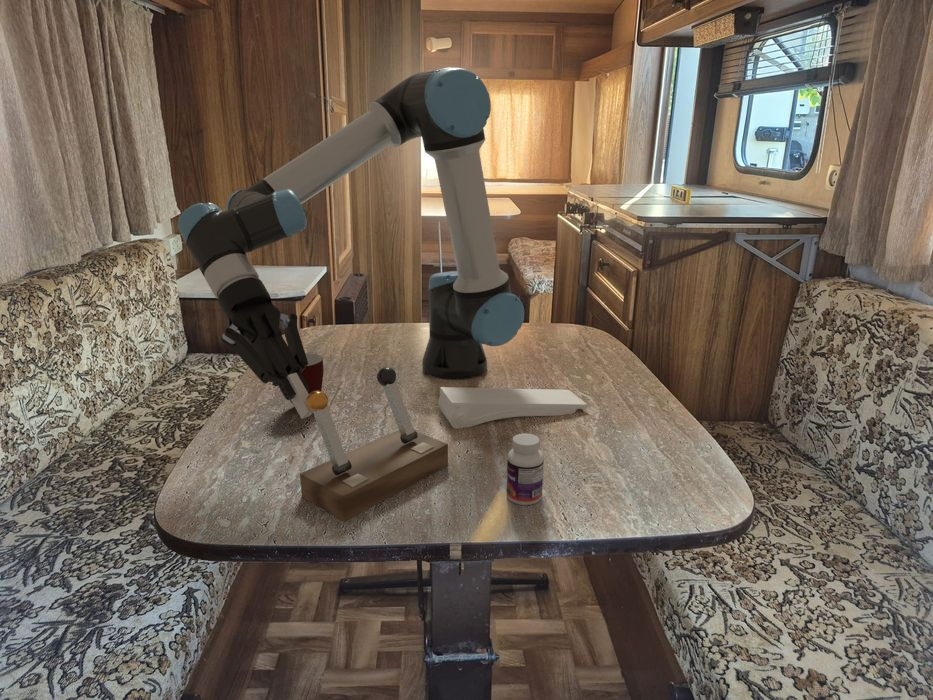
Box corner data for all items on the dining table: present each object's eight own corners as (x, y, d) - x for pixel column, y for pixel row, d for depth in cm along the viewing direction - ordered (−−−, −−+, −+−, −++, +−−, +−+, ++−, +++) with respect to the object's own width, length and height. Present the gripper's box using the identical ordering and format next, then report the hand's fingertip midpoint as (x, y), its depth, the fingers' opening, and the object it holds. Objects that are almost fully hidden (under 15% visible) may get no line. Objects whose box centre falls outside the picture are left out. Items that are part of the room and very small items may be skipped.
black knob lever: (397, 446, 109) (370, 372, 109) (411, 439, 111) (384, 367, 111) (409, 442, 107) (381, 367, 107) (423, 436, 109) (396, 362, 109)
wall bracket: (563, 423, 141) (435, 423, 132) (565, 388, 140) (437, 386, 131) (586, 431, 131) (451, 431, 122) (588, 394, 131) (453, 391, 122)
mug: (319, 420, 127) (315, 371, 124) (277, 420, 127) (272, 371, 124) (329, 399, 137) (326, 353, 134) (290, 399, 137) (286, 353, 134)
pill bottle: (504, 488, 103) (505, 431, 100) (538, 487, 104) (540, 430, 101) (509, 507, 98) (510, 447, 95) (545, 505, 99) (547, 446, 96)
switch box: (301, 497, 101) (299, 472, 99) (405, 447, 116) (405, 426, 115) (344, 521, 94) (342, 495, 93) (448, 465, 110) (447, 442, 109)
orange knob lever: (329, 477, 99) (299, 396, 99) (346, 469, 101) (316, 390, 101) (341, 474, 96) (310, 391, 97) (357, 466, 99) (327, 385, 99)
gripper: (266, 295, 113) (333, 412, 108) (193, 310, 104) (263, 438, 98) (282, 269, 108) (353, 389, 103) (207, 282, 99) (281, 415, 94)
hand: (309, 413), depth 101 cm, fingers closed
